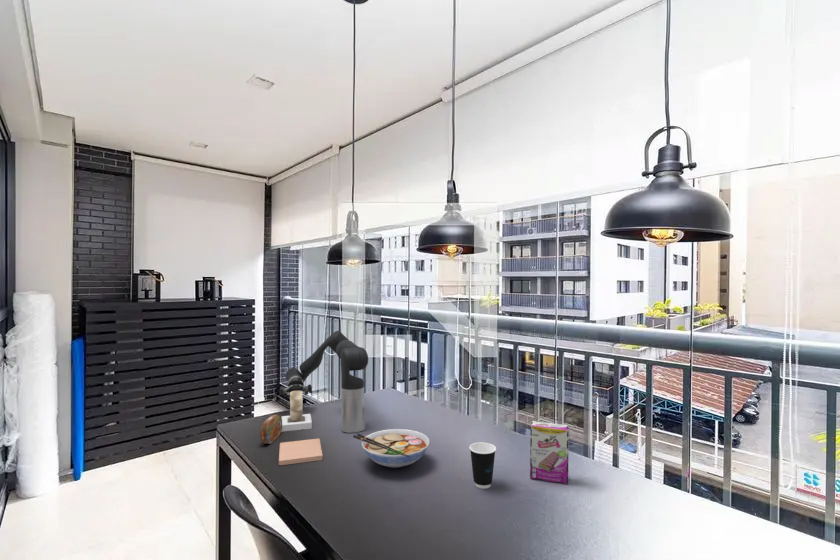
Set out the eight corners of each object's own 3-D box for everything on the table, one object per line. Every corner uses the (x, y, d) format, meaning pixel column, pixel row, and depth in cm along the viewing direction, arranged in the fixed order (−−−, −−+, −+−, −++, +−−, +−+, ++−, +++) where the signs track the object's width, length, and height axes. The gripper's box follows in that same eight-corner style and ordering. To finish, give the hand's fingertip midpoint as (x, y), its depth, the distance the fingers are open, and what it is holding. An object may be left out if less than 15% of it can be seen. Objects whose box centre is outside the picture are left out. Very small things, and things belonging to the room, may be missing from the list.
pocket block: (310, 419, 179) (310, 413, 179) (311, 428, 167) (311, 422, 167) (281, 422, 175) (281, 416, 175) (280, 431, 164) (280, 425, 164)
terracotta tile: (319, 442, 153) (319, 438, 153) (322, 459, 138) (322, 455, 138) (280, 446, 148) (280, 442, 148) (278, 465, 133) (278, 461, 133)
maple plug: (302, 422, 174) (302, 390, 175) (302, 426, 170) (302, 393, 170) (290, 424, 173) (290, 391, 173) (290, 428, 168) (290, 394, 168)
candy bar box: (529, 479, 123) (529, 425, 124) (531, 472, 128) (530, 420, 128) (569, 485, 120) (568, 429, 120) (568, 477, 124) (568, 424, 125)
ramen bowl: (446, 463, 135) (446, 438, 135) (396, 488, 118) (396, 460, 118) (394, 443, 152) (394, 421, 152) (344, 463, 135) (344, 438, 135)
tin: (267, 447, 148) (267, 424, 148) (258, 447, 148) (258, 424, 148) (283, 432, 163) (283, 411, 163) (275, 432, 163) (275, 411, 164)
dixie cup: (495, 492, 116) (495, 454, 116) (467, 489, 117) (467, 451, 118) (496, 479, 123) (496, 443, 124) (470, 476, 125) (470, 441, 125)
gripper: (280, 378, 196) (279, 386, 180) (310, 376, 200) (312, 384, 184) (280, 393, 196) (279, 403, 180) (310, 391, 200) (312, 400, 184)
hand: (296, 393), depth 182 cm, fingers open, 8 cm apart
